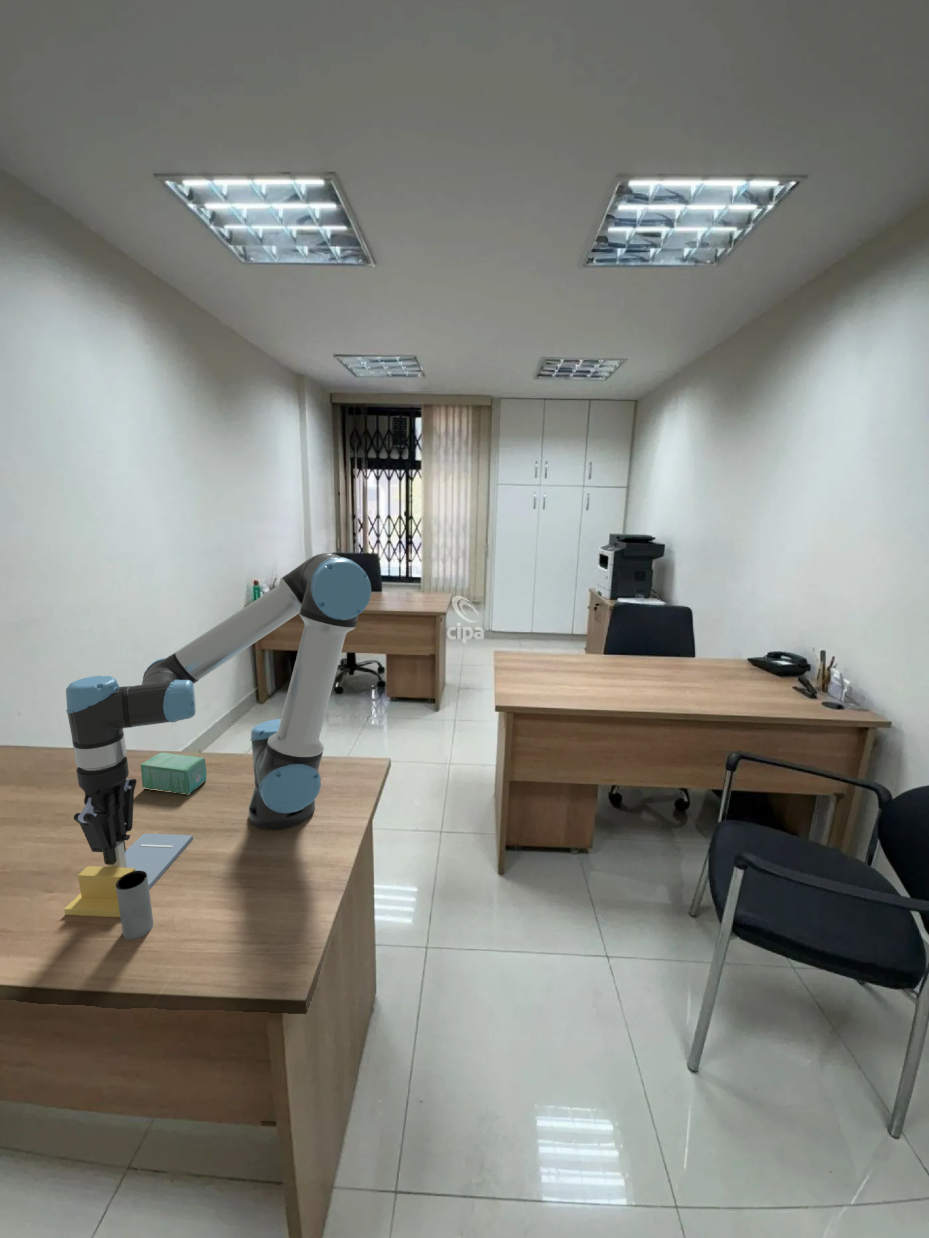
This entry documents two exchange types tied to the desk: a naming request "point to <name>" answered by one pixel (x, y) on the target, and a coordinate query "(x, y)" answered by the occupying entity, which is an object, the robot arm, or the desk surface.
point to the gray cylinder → (134, 904)
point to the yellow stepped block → (97, 892)
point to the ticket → (155, 853)
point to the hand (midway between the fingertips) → (117, 873)
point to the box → (173, 772)
